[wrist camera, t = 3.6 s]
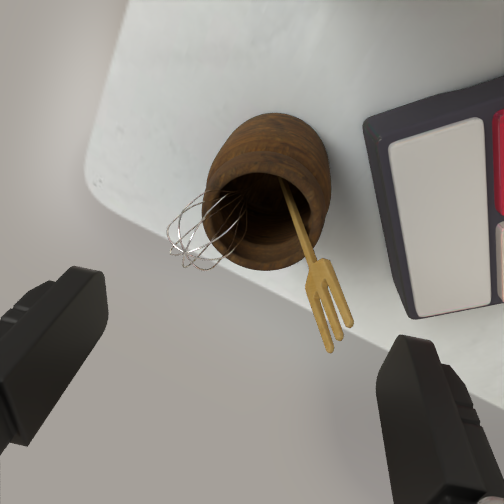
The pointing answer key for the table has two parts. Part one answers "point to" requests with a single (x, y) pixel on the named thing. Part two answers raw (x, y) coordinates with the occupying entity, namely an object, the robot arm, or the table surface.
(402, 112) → the calculator
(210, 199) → the utensil holder
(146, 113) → the table surface
